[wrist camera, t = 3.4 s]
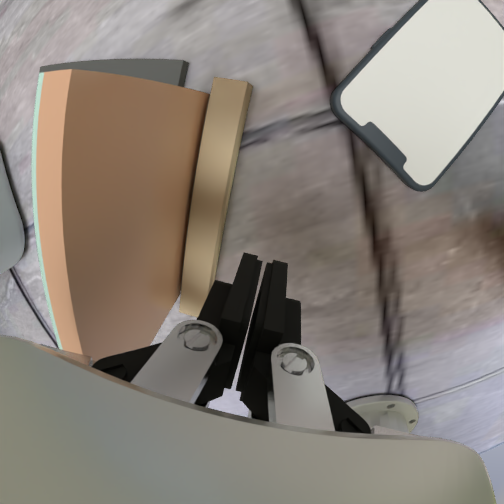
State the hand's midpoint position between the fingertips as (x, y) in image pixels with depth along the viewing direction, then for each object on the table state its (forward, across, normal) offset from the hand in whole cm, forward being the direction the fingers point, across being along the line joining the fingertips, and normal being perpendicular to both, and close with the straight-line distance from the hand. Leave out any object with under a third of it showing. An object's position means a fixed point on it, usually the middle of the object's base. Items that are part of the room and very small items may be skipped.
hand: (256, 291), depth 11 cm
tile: (+8, +6, 0) cm, 10 cm away
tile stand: (+9, +4, 0) cm, 10 cm away
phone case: (+10, -9, -13) cm, 18 cm away
